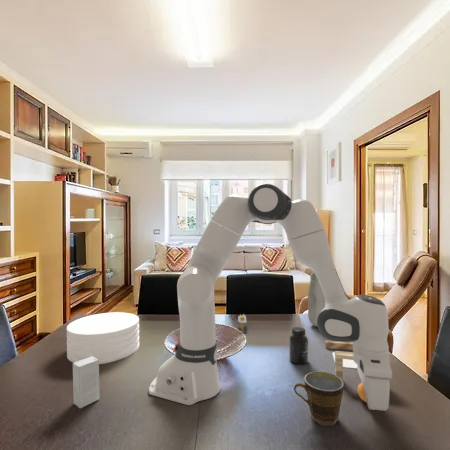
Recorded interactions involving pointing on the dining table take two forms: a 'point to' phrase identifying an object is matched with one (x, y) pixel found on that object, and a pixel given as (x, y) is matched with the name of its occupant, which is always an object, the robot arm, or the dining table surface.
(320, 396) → the ceramic cup
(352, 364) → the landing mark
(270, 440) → the dining table surface
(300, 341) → the supplement bottle
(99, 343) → the plate stack
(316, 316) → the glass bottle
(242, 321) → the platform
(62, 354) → the dining table surface
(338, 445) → the dining table surface
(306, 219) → the robot arm
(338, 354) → the bridge
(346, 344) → the rail
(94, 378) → the skincare box
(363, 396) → the ball
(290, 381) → the dining table surface
